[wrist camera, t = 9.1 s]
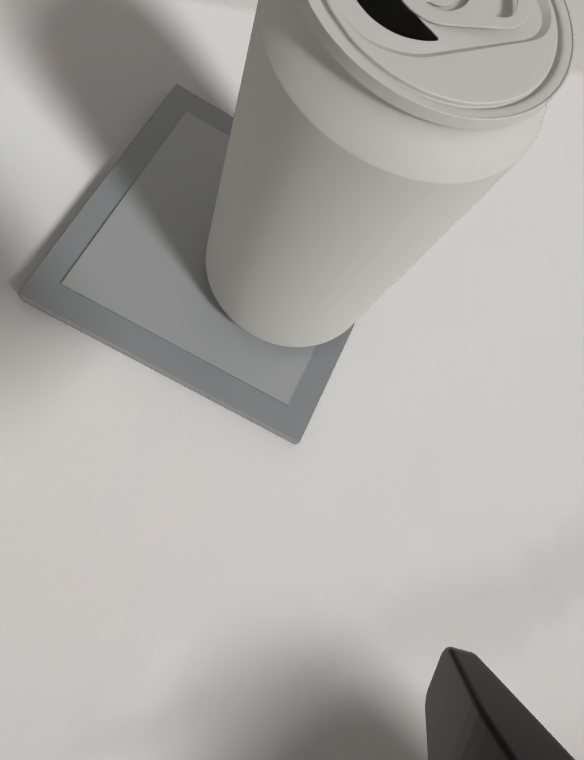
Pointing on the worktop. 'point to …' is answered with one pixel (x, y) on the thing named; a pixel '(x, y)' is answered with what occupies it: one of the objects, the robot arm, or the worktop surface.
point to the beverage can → (369, 147)
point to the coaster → (174, 276)
